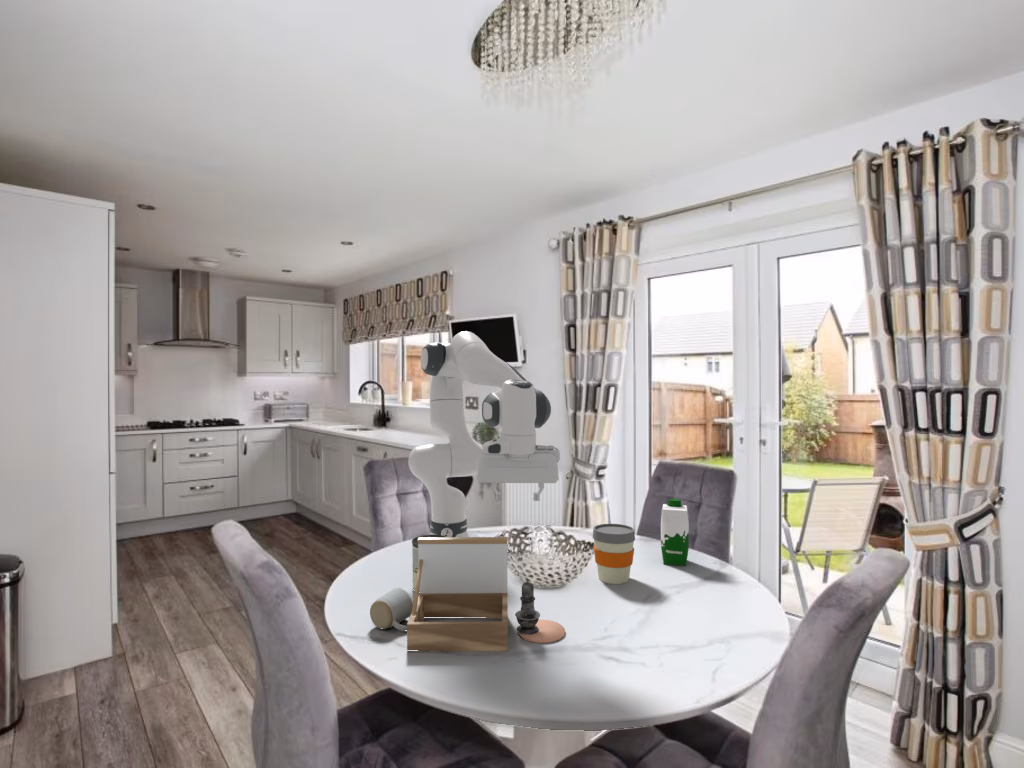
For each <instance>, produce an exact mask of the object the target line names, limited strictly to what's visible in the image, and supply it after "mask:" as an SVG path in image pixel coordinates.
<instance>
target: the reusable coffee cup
mask: <svg viewBox="0 0 1024 768" xmlns="http://www.w3.org/2000/svg"><path fill="white" fill-rule="evenodd" d="M635 534H636V533H635V529H634V528H633V527H632V526H629V525H626V524H620V523H600V524H596V525H595V526H593V531H592V539H593V542H594V543H593V544H594V545H593V553H594V554H593V555H594V561H595V563H596V567H597V574H598V580H599V581H600V582H603V583H605V584H609V585H623V584H627V583H628V582H629V581H630V574H631V567H632V565H633V562H634V553H635V548H634V542H635V540H636V535H635ZM622 583H623V584H622Z"/></svg>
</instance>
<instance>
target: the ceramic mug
mask: <svg viewBox="0 0 1024 768" xmlns="http://www.w3.org/2000/svg"><path fill="white" fill-rule="evenodd" d="M412 607H413V600H412V598H411V595H410V594H409V593H408V592H407V591H406V590H405V589H403V588H400V587H395V588H392V589H391V590H390V591H388V592H387V593H385V594H383V595H382V596H380V597H379V598H377V599H376V600H375V601H373V603H371V606H370V609H369V615H370V619H371V622H372V623H373V625H374V626H375V627H376V628H378V627H379V628H378V629H380V628H383V629H382V630H388V629H390V627H391V628H393V627H394V629H396V630H398V631H401V632H406V631H405V630H407V625H403V624H400V623H401V622H403V621H405V620H406V619H408V618H410V616H411V614H412ZM387 628H388V629H387Z"/></svg>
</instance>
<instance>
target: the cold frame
mask: <svg viewBox="0 0 1024 768" xmlns="http://www.w3.org/2000/svg"><path fill="white" fill-rule="evenodd" d="M508 612H509V611H508V592H507V593H425V594H419V595H418V603H417V610H416V615H414V616H412V615H411V616H410V617H408V618H409V619H408V620H407V623H406V626H407V631H406V651H407V650H418V651H454V652H509V650H508V649H509V647H508V644H509V636H508V632H509V631H508V629H509V628H508V627H509V625H508V624H509V623H508V622H509V621H508V618H509V617H508V615H509V613H508ZM424 617H486V618H485V619H501V620H500V621H499V620H498V621H424V620H423V618H424ZM422 621H423V622H422Z"/></svg>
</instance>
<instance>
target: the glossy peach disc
mask: <svg viewBox="0 0 1024 768" xmlns="http://www.w3.org/2000/svg"><path fill="white" fill-rule="evenodd" d="M535 626H537V627H538V628H539V631H538V632H537V633H535V634H532V635H524V634H520V633H518V632H517V634H518V636H519V635H520V636H521V637H522V638H521V637H520V638H521V639H522V640H525V641H526V642H530V643H535V644H549V643H550V642H551V643H555V642H557V640H558V641H560V640H562V639H563V638H564V637H565V635H566V629H565V627H564V625H562V624H561V623H559V622H557V621H553V620H550V619H539V620H538V622H537V624H536V625H535ZM563 636H564V637H563ZM561 638H562V639H561ZM554 641H555V642H554Z"/></svg>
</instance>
